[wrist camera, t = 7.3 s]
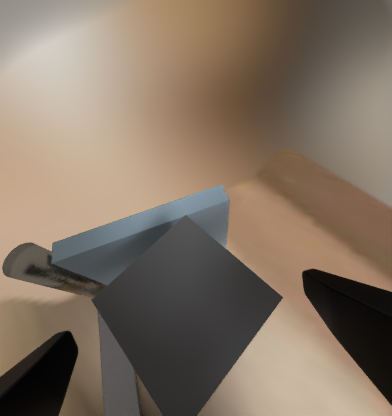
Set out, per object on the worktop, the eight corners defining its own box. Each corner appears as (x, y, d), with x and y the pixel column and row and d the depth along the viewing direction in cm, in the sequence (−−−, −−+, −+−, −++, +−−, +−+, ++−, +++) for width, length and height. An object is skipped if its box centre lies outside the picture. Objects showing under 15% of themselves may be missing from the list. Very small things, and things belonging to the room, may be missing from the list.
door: (123, 291, 18) (51, 263, 10) (119, 262, 19) (54, 219, 12) (225, 252, 19) (229, 200, 11) (214, 227, 20) (211, 166, 13)
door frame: (152, 489, 12) (-5, 857, 4) (113, 507, 12) (-147, 945, 3) (122, 277, 19) (45, 235, 11) (98, 286, 19) (0, 251, 10)
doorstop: (244, 317, 16) (283, 297, 6) (206, 365, 15) (178, 441, 5) (204, 278, 18) (185, 214, 8) (168, 317, 17) (91, 299, 7)
